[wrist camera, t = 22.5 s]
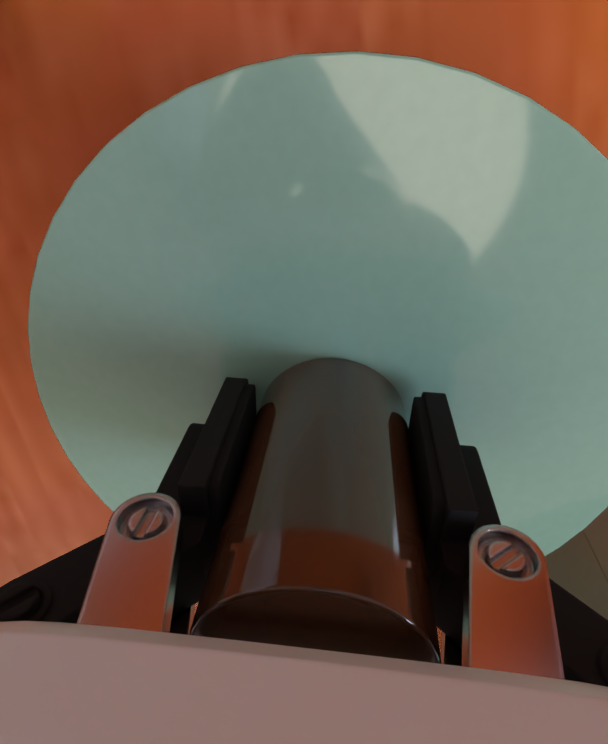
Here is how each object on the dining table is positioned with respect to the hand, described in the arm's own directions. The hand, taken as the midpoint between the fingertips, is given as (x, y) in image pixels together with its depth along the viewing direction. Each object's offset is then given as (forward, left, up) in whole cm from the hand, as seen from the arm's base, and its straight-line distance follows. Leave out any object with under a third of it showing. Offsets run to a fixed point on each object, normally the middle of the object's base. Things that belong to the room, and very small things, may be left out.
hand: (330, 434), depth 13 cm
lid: (0, 0, -1) cm, 1 cm away
